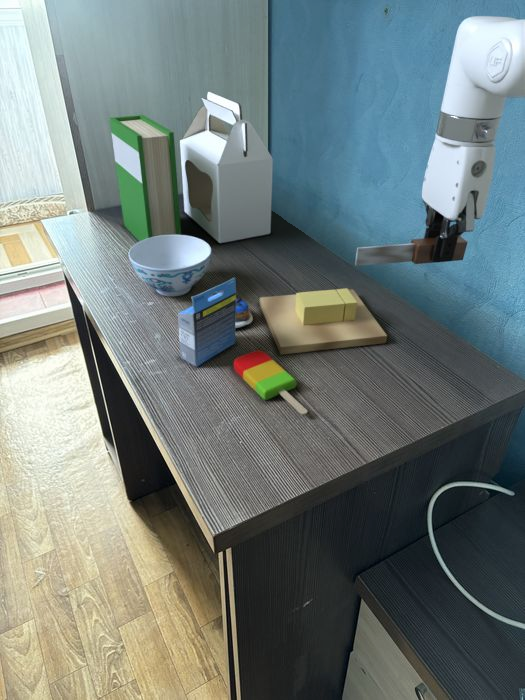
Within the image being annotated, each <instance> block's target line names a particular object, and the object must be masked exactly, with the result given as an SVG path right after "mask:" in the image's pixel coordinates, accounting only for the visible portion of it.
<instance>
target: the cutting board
mask: <svg viewBox="0 0 525 700" xmlns="http://www.w3.org/2000/svg"><path fill="white" fill-rule="evenodd" d="M348 290H349V292H350V293H351V294H352V296H353V297H354V299H355V300H356V301H357V308H356V315H355V320H350V321H340V322H330V323H320V324H310V325H303V324H302V322H301V320H300V318H299V316H298V314H297V312H296V310H295V308H296V294H297V293H295V294H294V293H293V294H285V295H274V296H273V295H272V296H262V297H261V296H260V297H259V306H260V309H261V310H262V314H263V316H264V318H265V320H266V323H267V325H268V328H269V331H270V332H271V335H272V338H273V340H274V342H275V344H276V347H277V350H278V353H279V354H280V355H281V356H282V355H289V354H298V353H307V352H317V351H326V350H335V349H345V348H353V347H361V346H362V347H363V346H370V345H371V346H372V345H380V344H381V345H382V344H386V343H387V340H388V339H387V338H388V335H387V333H386V332H385V331H384V329H383V328H382V327H381V325H380V324H379V323H378V321H377V320H376V319H375V317H374V316H373V314H372V313H371V311H370V310H369V309H368V308H367V306H366V305H365V304H364V302H363V301H362V299H361V298H360V297H359V295H358V294H357V293H356V291H355V289H353V288H351V289H348Z"/></svg>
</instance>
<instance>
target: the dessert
mask: <svg viewBox="0 0 525 700" xmlns="http://www.w3.org/2000/svg"><path fill="white" fill-rule="evenodd" d="M253 320H254V318H253V314H252V313H251V311H250V308H249V305H248V303H247V302H246V301H245V300H243V299H242V298H241V297H238V298H237V297H236V325H235V329H238V328H242V327H245V326H247V325H250V324H251V323H252V322H253Z"/></svg>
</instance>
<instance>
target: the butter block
mask: <svg viewBox="0 0 525 700" xmlns="http://www.w3.org/2000/svg"><path fill="white" fill-rule="evenodd" d="M295 294H296V308H295V310H296V312H297V314H298V316H299V318H300V320H301V322H302V324H303V325H310V324H320V323H330V322H340V321H343V313H344V306H345V303H344V302H343V300H342V299H341V297H340V296H339V294H338V293H337V291H336V288H335V289H325V290H313V291H302V292H301V291H300V292H296V293H295Z"/></svg>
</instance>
